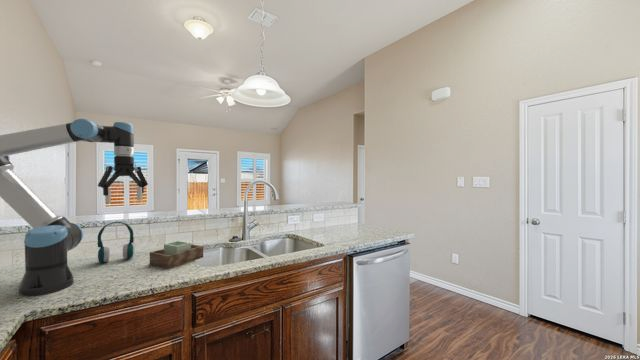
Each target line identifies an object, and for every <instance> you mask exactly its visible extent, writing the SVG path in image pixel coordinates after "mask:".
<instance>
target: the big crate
mask: <svg viewBox="0 0 640 360" xmlns="http://www.w3.org/2000/svg"><path fill="white" fill-rule="evenodd" d="M202 258H204V246H203V245H197V244H192V243H191V249H190V250H186V251H183V252H179V253H175V254H172V255H164V248H162V249H157V250H155V251H150V252H149V265H150V266H155V267H159V268H162V269H167V270H169V269H173V268H175V267H178V266H181V265H183V264H187V263H191V262H193V261H196V260H199V259H202Z"/></svg>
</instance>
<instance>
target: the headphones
mask: <svg viewBox="0 0 640 360" xmlns="http://www.w3.org/2000/svg"><path fill="white" fill-rule="evenodd" d="M112 224H123V225H124V226H125V227H126V228H127V229H128V233H129V241H128V243H125V244H123V246H122V257H123V259H127V260H130V259H131V258H133V256H134V252H135V250H134V249H135V247H134V245H133V244H134V240H135V237H134V231H133V227H131V226H130V225H129V224H128V223H125V222H123V221H114V222H113V221H112V222H110V223H107V224H105V225H104V226H103V227H101V229H100V230H99V232H98V234H97V243H96V244H97V247H98V248H99V249H98V251H97V259H98V262H99V263H102V264H104V263H107V262H109V261H110V258H111V257H110V256H111V255H110V247H109V246H104V245H103V240H102V239H103V238H102V237H103V236H102V235H103V233H104V231H105V229H106V227H107V226H109V225H112Z"/></svg>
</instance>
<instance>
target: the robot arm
mask: <svg viewBox="0 0 640 360" xmlns="http://www.w3.org/2000/svg"><path fill="white" fill-rule="evenodd" d="M134 137H135V132H134V125H133V124H132V123H129V122H126V121H125V122H124V121H123V122H122V121H115V122H114V123H113V125H111V126H109V125H99V124H97V123H95V122H94V121H92V120H91V119H86V118H78V119H75V120H73V121H72V122H69V123H68V122H67V123H62V124H57V125H51V126H46V127H40V128H34V129H28V130H21V131H17V132H10V133H6V134H0V198H1V199H2V200H3V201H4V203H6V204H7V205H8V206H10V208H11V209H13V210H14V212H16V213H17V214H18V215H19V216H20V217H21V218H22V219H23V220H24V221H25V222H26V223H27V224H28V225H29V226H31V227H32V229H29V230H27V232H25V235H24V240H23V243H24V267H25V268H24V269H25V270H24V274H23V277H22V279H21V282H20V284H19V286H18V295H20V296H23V297H24V296H25V297H30V296H39V295H46V294H50V293H54V292H58V291H60V290H64V289H66V288H68V287H70V286H72V285H73V284H74V275H73V273H72V271H71V269H70V266H69V264H68V252H69V251H71V250H73V249H75V248H76V247H77V246H79V244H80V243H82V240H83V237H84V231H83V229H82V227H81V226H80V225H78V224H77V223H73V222H70V221H69V220H68V219H67V217H65V216H64V215H57V214H56V213H55V212H54V210H52V208H51V207H49V206H48V205H47V204H46V203H45V201H43V200H42V199H41V198H40V197H39V196H38V195H37V194H36V192H34V191H33V190H32V189H31V188H30V187H29V185H27V184H26V183H25V182H24V181H23V180H22V179H21V178H20V177H19V175H17V174H16V173H15V172H14V167H15V166H14V164H13V163H12V162H11V161H10V156H12V155H13V156H14V155H17V154H21V153H22V154H23V153H26V152H27V153H28V152H32V151H37V150H41V149H47V148H52V147H56V146H61V145H66V144H72V143H77V142H81V141H82V142H88V143H110V144H113V155H114V156H113V158H114V159H113V161H114V162H113V164H114V166H112V165H107V166H106V167H105V172H104V173H103V175H102V176H101V179H100V180H99V182H98V184H97V187H100V188H102V190H103V191H102V193H103V194H102V195H103V196H105V197H104V198H105V199H104V200H105V204H111V201H112V200H111V198H112V197H111V194H112V193H111V191H112V190H111V189H112V188H111V187H110V186H112V184H113V183H114V182H115V181H116V180H117V179H118V178H119V177H129V178H131V179H132V180H133V181H134V183H136V185H137V186H136V187H137V188H136V198H137V199H136V200H137V201H142V200H143V194H144V189H145V187H147V186H148V185H149V183H148V181H147V180H146V178H145V176H144V174H143V172H142V168H141V166H136V167H135V166H134V165H135V157H134V154H135V151H134V149H135V146H134V144H135V138H134ZM113 171H114V173H112V172H113ZM134 172H135V173H136V174H135V173H134ZM111 174H112V176H111ZM110 176H111V177H110ZM109 177H110V178H109Z"/></svg>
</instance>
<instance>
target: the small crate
mask: <svg viewBox="0 0 640 360" xmlns="http://www.w3.org/2000/svg"><path fill="white" fill-rule="evenodd" d="M191 244H192V243H191V242H187V241H182V240H176V241H171V242H167V243H163V249H164V255H172V254H175V253H179V252H183V251H186V250H190V249H191Z"/></svg>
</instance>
